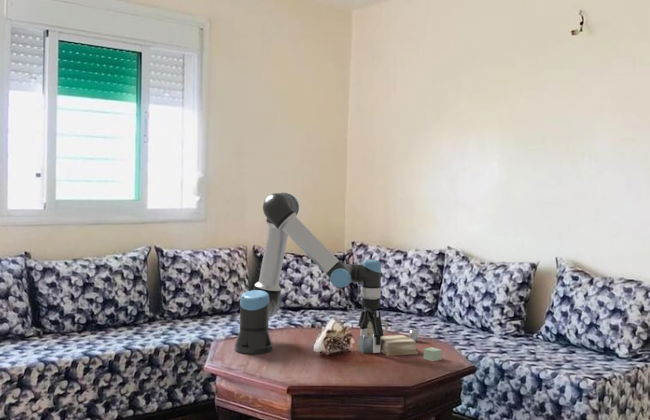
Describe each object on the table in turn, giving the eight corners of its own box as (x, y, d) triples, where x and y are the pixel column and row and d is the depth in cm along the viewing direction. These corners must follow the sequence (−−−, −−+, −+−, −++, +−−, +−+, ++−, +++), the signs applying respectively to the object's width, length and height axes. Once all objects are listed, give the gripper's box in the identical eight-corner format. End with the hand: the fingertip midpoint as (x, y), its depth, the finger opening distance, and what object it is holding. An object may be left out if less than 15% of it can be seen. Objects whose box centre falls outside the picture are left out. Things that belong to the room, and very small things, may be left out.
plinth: (374, 347, 280) (374, 335, 279) (403, 345, 284) (403, 334, 284) (387, 355, 267) (388, 343, 266) (417, 353, 271) (418, 341, 271)
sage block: (423, 358, 265) (423, 348, 264) (431, 356, 268) (432, 347, 268) (432, 361, 261) (433, 351, 261) (441, 359, 264) (441, 349, 264)
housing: (358, 350, 275) (358, 334, 274) (375, 349, 277) (376, 333, 277) (362, 353, 270) (363, 337, 270) (380, 352, 273) (381, 336, 272)
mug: (357, 337, 296) (358, 315, 296) (383, 336, 300) (384, 314, 299) (364, 342, 288) (364, 319, 288) (390, 341, 292) (391, 318, 291)
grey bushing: (407, 340, 294) (407, 329, 294) (415, 340, 295) (416, 329, 295) (411, 342, 290) (412, 331, 290) (419, 342, 291) (420, 331, 291)
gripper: (351, 292, 283) (350, 341, 284) (375, 303, 260) (373, 356, 260) (367, 292, 286) (366, 340, 286) (392, 302, 262) (391, 355, 263)
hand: (370, 348), depth 273 cm, fingers open, 13 cm apart
